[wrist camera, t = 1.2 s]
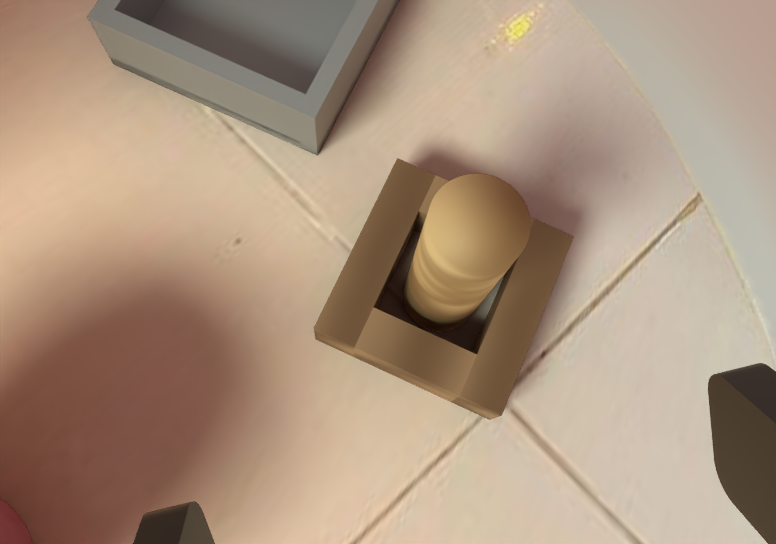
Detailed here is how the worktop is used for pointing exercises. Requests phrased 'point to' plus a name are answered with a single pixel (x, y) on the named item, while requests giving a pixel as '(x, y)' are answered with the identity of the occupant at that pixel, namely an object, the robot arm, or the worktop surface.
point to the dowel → (464, 249)
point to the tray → (250, 55)
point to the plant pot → (12, 526)
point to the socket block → (420, 348)
